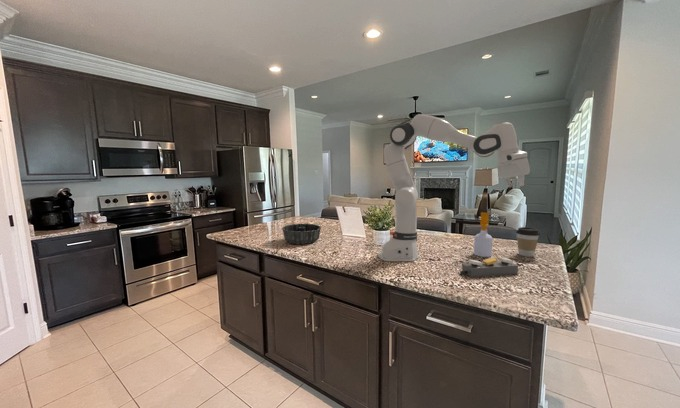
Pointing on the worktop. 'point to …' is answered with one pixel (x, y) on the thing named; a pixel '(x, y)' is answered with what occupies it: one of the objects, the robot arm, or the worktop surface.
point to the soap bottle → (483, 238)
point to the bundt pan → (301, 233)
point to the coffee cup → (527, 241)
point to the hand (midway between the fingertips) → (515, 186)
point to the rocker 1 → (475, 262)
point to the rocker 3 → (505, 260)
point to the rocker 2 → (489, 261)
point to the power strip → (489, 269)
